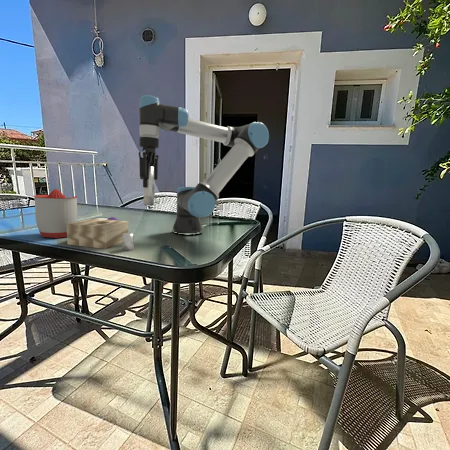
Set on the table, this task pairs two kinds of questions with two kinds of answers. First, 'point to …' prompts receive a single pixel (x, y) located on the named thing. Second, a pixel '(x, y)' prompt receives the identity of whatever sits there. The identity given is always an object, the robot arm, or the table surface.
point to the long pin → (150, 199)
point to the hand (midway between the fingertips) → (148, 195)
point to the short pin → (128, 241)
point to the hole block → (96, 232)
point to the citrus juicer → (55, 213)
